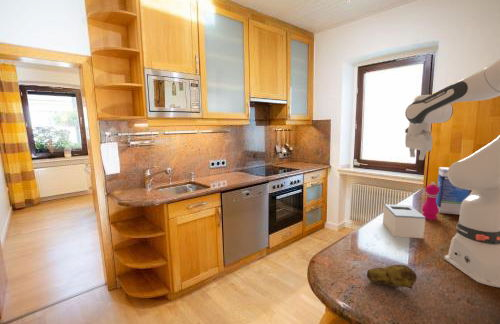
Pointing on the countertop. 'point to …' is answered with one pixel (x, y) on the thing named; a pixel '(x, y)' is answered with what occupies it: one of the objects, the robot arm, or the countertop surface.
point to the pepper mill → (431, 202)
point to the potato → (393, 276)
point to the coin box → (403, 221)
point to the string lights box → (449, 194)
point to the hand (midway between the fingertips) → (416, 158)
